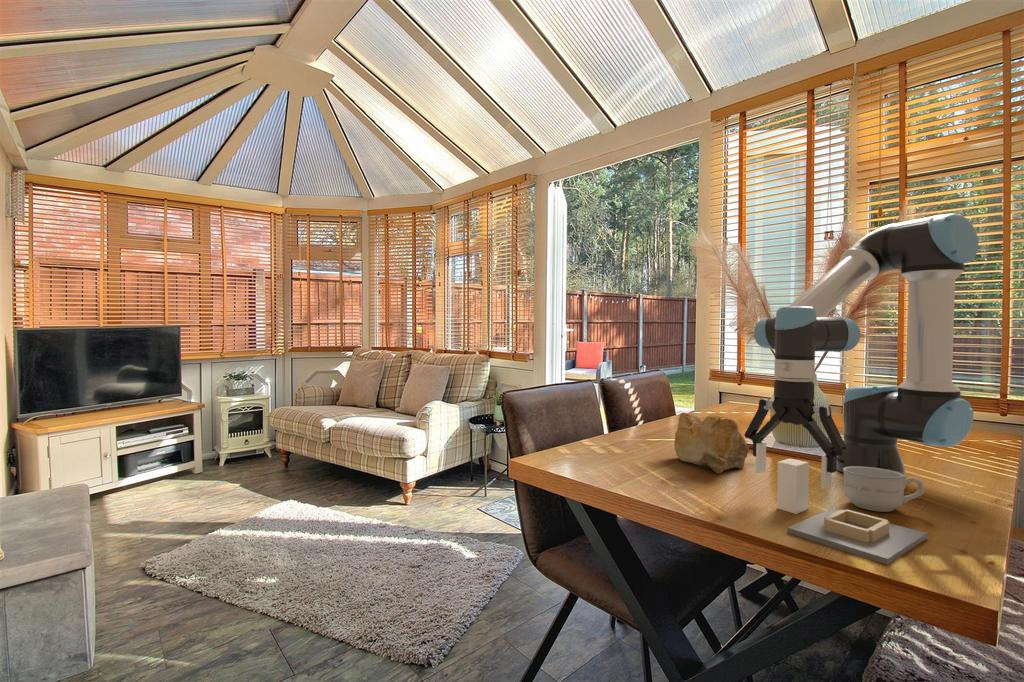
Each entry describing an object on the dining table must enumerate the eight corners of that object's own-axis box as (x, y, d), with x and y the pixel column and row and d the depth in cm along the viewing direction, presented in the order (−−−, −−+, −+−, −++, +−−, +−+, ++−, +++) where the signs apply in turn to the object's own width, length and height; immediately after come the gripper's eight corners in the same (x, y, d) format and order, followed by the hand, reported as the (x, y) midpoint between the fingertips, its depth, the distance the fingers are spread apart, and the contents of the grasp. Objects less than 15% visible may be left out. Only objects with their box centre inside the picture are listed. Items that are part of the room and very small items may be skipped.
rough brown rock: (772, 479, 133) (775, 421, 133) (715, 478, 129) (719, 419, 130) (717, 460, 156) (720, 411, 156) (668, 458, 152) (671, 408, 152)
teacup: (836, 507, 110) (837, 470, 110) (849, 495, 117) (849, 461, 117) (919, 525, 100) (919, 484, 100) (927, 511, 108) (927, 473, 107)
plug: (789, 503, 112) (789, 458, 112) (808, 509, 109) (808, 462, 109) (777, 508, 109) (777, 461, 109) (796, 513, 106) (796, 465, 106)
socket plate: (831, 512, 107) (832, 498, 106) (927, 538, 93) (927, 522, 93) (787, 532, 96) (787, 517, 96) (887, 564, 83) (887, 546, 83)
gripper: (729, 375, 117) (727, 468, 117) (851, 386, 96) (849, 498, 97) (747, 374, 121) (746, 464, 121) (868, 384, 100) (866, 491, 101)
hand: (791, 479), depth 109 cm, fingers open, 13 cm apart
